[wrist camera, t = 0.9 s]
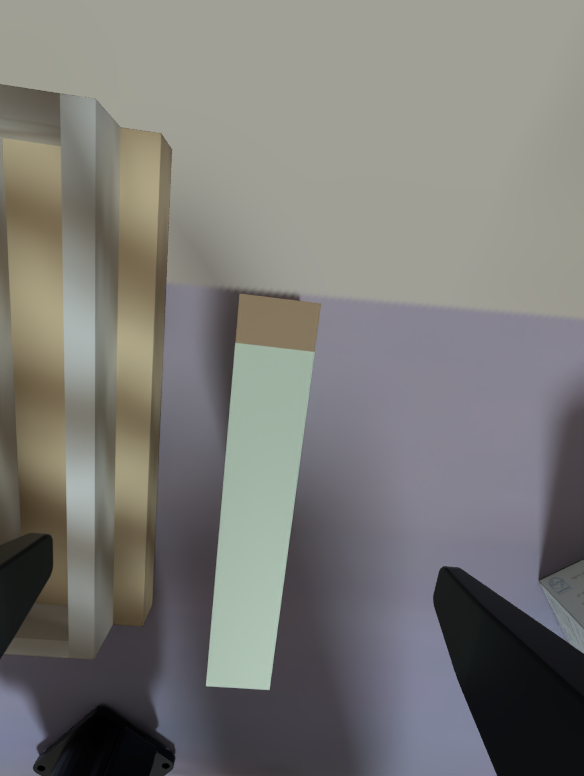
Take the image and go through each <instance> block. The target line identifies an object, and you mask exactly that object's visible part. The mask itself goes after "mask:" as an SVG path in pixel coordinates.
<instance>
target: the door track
mask: <svg viewBox="0 0 584 776" xmlns="http://www.w3.org/2000/svg"><path fill="white" fill-rule="evenodd" d="M171 158H172V149H171V147H170V146H169V145H168V143H167V141H166V140H165V139H164V137H163V135H162V134H161V133H155V132H148V131H141V130H135V129H128V128H121V127H120V126H119V125H118V124H117V123H116V122H115V120H114V119H113V118H112V117H111V116H110V115H109V114H108V113H107V111H106V110H105V109H104V108H103V107H102V106H101V104H100V103H99V102H98V101H97V100H96V99H93V98H86V97H79V96H74V95H67V94H60V93H53V92H47V91H40V90H34V89H28V88H21V87H15V86H8V85H1V84H0V545H2V544H4V543H6V542H9V541H11V540H14V539H16V538H18V537H21V536H23V535H25V534H28V533H31V532H37V533H48V534H50V535H51V536H52V538H53V570H52V573H51V576H50V578H49V580H48V581H47V583H46V585H45V586H44V588H43V590H42V592H41V593H40V595H39V597H38V598H37V600H36V602H35V603H34V605H33V607H32V608H31V610H30V612H29V613H28V615H27V617H26V619H25V620H24V622H23V624H22V625H21V627H20V629H19V630H18V632H17V634H16V635H15V637H14V639H13V640H12V642H11V643H10V645H9V647H8V648H7V650H6V651H5V653H4V654H10V655H26V656H42V657H59V658H75V659H91V660H94V659H95V657H96V655H97V654H98V652H99V650H100V648H101V646H102V644H103V642H104V640H105V638H106V636H107V635H108V633H109V631H110V629H111V627H112V625H113V624H114V625H129V626H143V625H144V623H145V620H146V618H147V616H148V613H149V611H150V609H151V606H152V601H153V578H154V555H155V532H156V508H157V485H158V462H159V439H160V416H161V393H162V370H163V346H164V323H165V300H166V277H167V254H168V231H169V230H168V229H169V207H170V184H171V161H172V159H171Z"/></svg>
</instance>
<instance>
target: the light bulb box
mask: <svg viewBox="0 0 584 776" xmlns="http://www.w3.org/2000/svg"><path fill="white" fill-rule="evenodd" d="M539 582H540V584H541V586H542V589H543V591H544V593H545V595H546V597H547V599H548V601H549V603H550V605H551V607H552V609H553V611H554V613H555V615H556V617H557V619H558V622H559V623H560V625H561V627H562V629H563V631H564V634H565V636H566V638H567V640H568V642H569V644H571V645H572V646H574V647H575V648H576V649H578V650H579V651H581V652H582V653H584V559H583V560H581V561H579V562H577V563H575V564H573V565H571V566H569V567H567V568H565V569H562V570H560V571H558V572H556V573H554V574H552V575H550V576H548V577H546V578H544V579H541V580H540V581H539Z"/></svg>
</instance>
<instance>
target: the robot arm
mask: <svg viewBox="0 0 584 776" xmlns="http://www.w3.org/2000/svg"><path fill="white" fill-rule="evenodd" d="M52 570H53V538H52V536H51V535H50V534H48V533H37V532H31V533H28V534H25V535H23V536H21V537H18V538H16V539H14V540H11V541H9V542H6V543H4V544H2V545H0V659H1V657H2V656H3V654H4V653H5V651H6V650H7V648H8V647H9V645H10V643H11V642H12V640H13V639H14V637H15V635H16V634H17V632H18V630H19V629H20V627H21V625H22V624H23V622H24V620H25V619H26V617H27V615H28V613H29V612H30V610H31V608H32V607H33V605H34V603H35V602H36V600H37V598H38V597H39V595H40V593H41V592H42V590H43V588H44V586H45V585H46V583H47V581H48V580H49V578H50V576H51V573H52ZM433 602H434V607H435V611H436V614H437V617H438V620H439V623H440V626H441V630H442V633H443V636H444V639H445V642H446V645H447V649H448V652H449V655H450V658H451V661H452V665H453V668H454V670H455V673H456V676H457V679H458V682H459V684H460V687H461V689H462V692H463V694H464V697H465V699H466V701H467V704H468V706H469V709H470V711H471V714H472V716H473V718H474V721H475V723H476V726H477V728H478V730H479V733H480V735H481V738H482V740H483V743H484V745H485V747H486V750H487V752H488V755H489V757H490V759H491V762H492V764H493V767H494V769H495V772H496V774H497V776H584V653H582V652H581V651H579V650H578V649H576V648H575V647H574V646H572V645H571V644H569V643H568V642H566V641H565V640H563V639H562V638H560V637H559V636H558V635H556V634H555V633H553V632H552V631H550V630H549V629H547V628H546V627H545V626H543V625H542V624H540V623H539V622H537V621H536V620H534V619H533V618H532V617H530V616H529V615H527V614H526V613H524V612H523V611H521V610H520V609H519V608H517V607H516V606H514V605H513V604H511V603H510V602H508V601H507V600H506V599H504V598H503V597H501V596H500V595H498V594H497V593H495V592H494V591H492V590H491V589H490V588H488V587H487V586H485V585H484V584H482V583H481V582H479V581H478V580H477V579H475V578H474V577H472V576H471V575H469V574H468V573H466V572H465V571H464V570H462V569H461V568H458V567H447V566H444V567H442V568H441V569H440V571H439V574H438V578H437V582H436V587H435V591H434V596H433ZM174 762H175V756H174V755H173V754H172V753H171V752H169V751H168V750H166V749H165V748H164V747H162V746H161V745H159V744H158V743H156V742H155V741H154V740H152V739H151V738H149V737H148V736H146V735H145V734H144V733H142V732H141V731H139V730H138V729H136V728H135V727H134V726H132V725H131V724H129V723H128V722H126V721H125V720H124V719H122V718H121V717H119V716H118V715H116V714H115V713H114V712H112V711H111V710H109V709H108V708H106V707H103V706H100V707H97V708H95V709H94V710H93V711H92V712H91V713H89V714H88V715H87V716H86V717H85V718H84V719H82V720H81V721H80V722H79V723H78V724H77V725H75V726H74V727H73V728H72V729H71V730H69V731H68V732H67V733H66V734H65V735H64V736H62V737H61V738H60V739H59V740H58V741H57V742H55V743H54V744H53V745H52V746H51V747H49V748H48V749H47V750H46V751H45V752H44V753H42V754H41V755H40V756H39V757H38V758H37V760H36V762H35V764H34V766H33V770H34V771H35V772H36V773H38V774H39V775H41V776H165V775H166V774H167V773H168V772H170V771H171V770H172V769H173V767H174Z"/></svg>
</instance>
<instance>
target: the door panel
mask: <svg viewBox="0 0 584 776" xmlns="http://www.w3.org/2000/svg"><path fill="white" fill-rule="evenodd" d="M320 308H321V304H320V303H312V302H304V301H296V300H288V299H280V298H272V297H264V296H256V295H248V294H240V295H239V306H238V318H237V330H236V341H235V353H234V365H233V376H232V388H231V400H230V411H229V423H228V435H227V446H226V458H225V470H224V481H223V493H222V505H221V516H220V528H219V540H218V551H217V563H216V575H215V586H214V598H213V610H212V621H211V633H210V644H209V656H208V668H207V679H206V686H211V687H228V688H245V689H261V690H270V682H271V675H272V667H273V660H274V652H275V645H276V637H277V630H278V622H279V615H280V607H281V600H282V592H283V585H284V577H285V570H286V562H287V555H288V547H289V540H290V532H291V525H292V517H293V510H294V502H295V495H296V487H297V480H298V472H299V465H300V458H301V450H302V443H303V435H304V428H305V420H306V413H307V405H308V398H309V390H310V383H311V375H312V368H313V360H314V353H315V345H316V338H317V330H318V323H319V315H320Z"/></svg>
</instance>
